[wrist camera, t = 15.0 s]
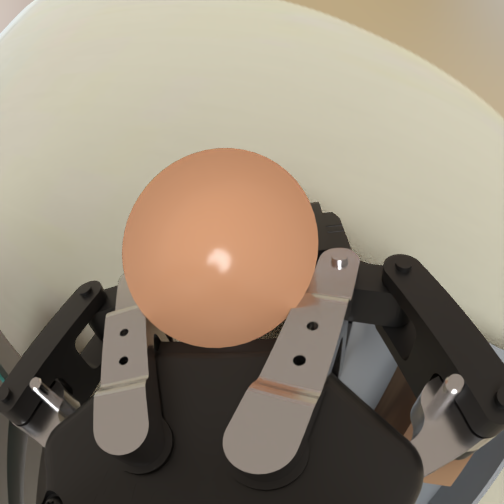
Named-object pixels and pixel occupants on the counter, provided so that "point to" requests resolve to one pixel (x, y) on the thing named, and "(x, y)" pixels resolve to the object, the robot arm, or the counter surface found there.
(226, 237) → the peach dome-topped cylinder
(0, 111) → the counter surface
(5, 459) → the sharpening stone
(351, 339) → the tote
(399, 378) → the cube
